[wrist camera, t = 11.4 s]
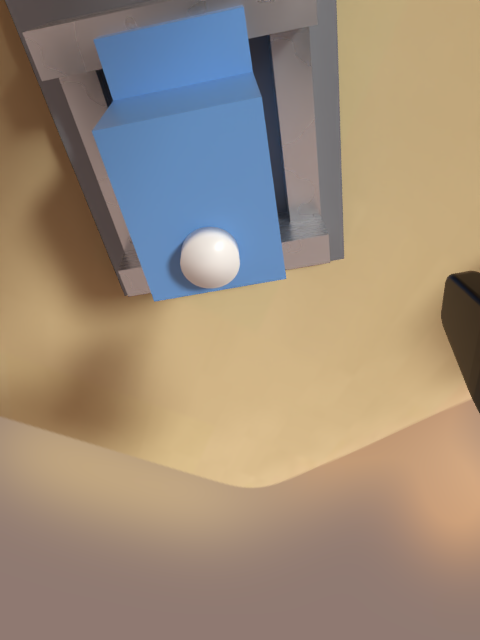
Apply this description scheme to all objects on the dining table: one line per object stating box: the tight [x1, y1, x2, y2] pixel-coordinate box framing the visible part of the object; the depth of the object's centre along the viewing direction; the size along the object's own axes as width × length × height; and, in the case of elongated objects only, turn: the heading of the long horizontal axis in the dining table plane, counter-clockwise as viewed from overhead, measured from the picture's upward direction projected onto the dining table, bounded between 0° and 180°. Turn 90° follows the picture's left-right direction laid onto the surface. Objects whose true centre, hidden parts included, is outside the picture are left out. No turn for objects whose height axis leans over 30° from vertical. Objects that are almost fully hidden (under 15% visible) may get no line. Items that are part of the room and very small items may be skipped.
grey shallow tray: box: [5, 0, 344, 297], centre depth 16 cm, size 10×12×4 cm
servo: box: [92, 5, 286, 301], centre depth 14 cm, size 4×8×7 cm, turn 10°
